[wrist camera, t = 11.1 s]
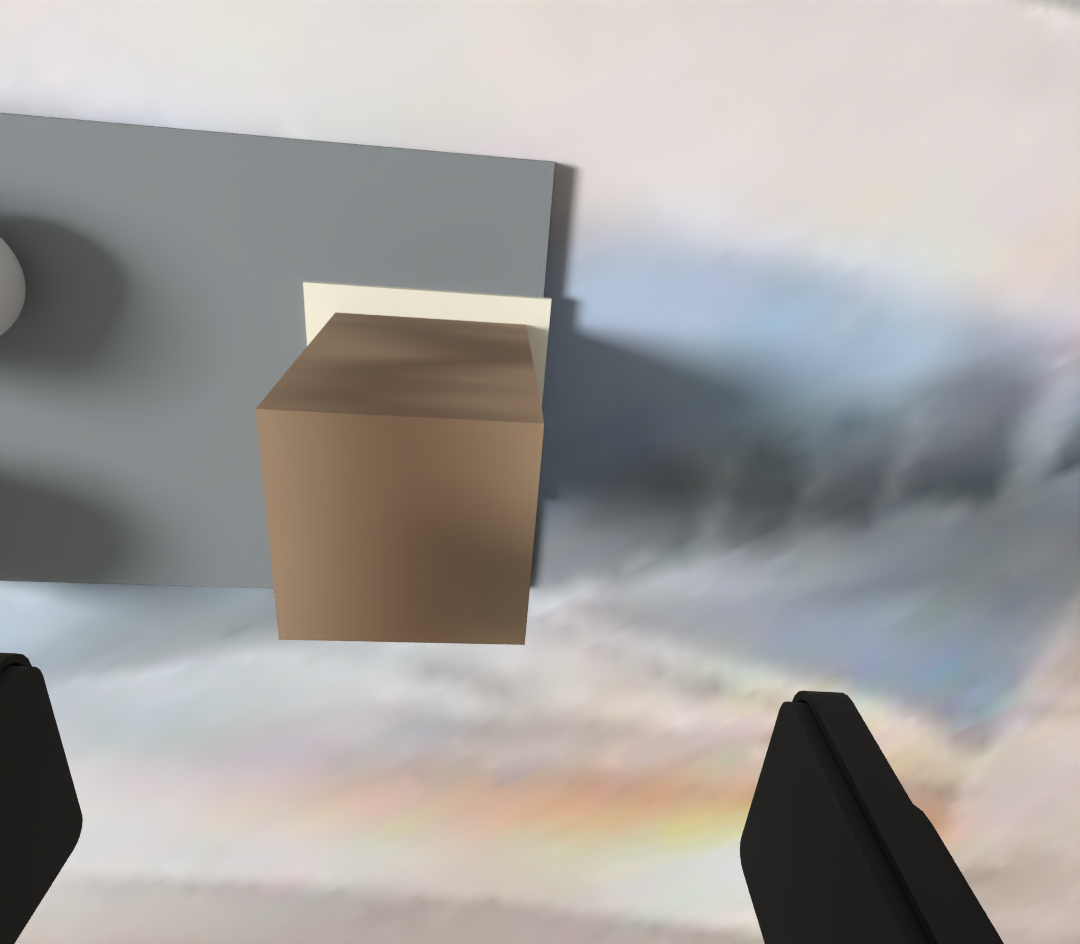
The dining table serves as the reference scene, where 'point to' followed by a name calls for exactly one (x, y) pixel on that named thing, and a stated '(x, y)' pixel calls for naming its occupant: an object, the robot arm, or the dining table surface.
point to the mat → (214, 321)
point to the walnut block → (403, 482)
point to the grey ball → (10, 287)
